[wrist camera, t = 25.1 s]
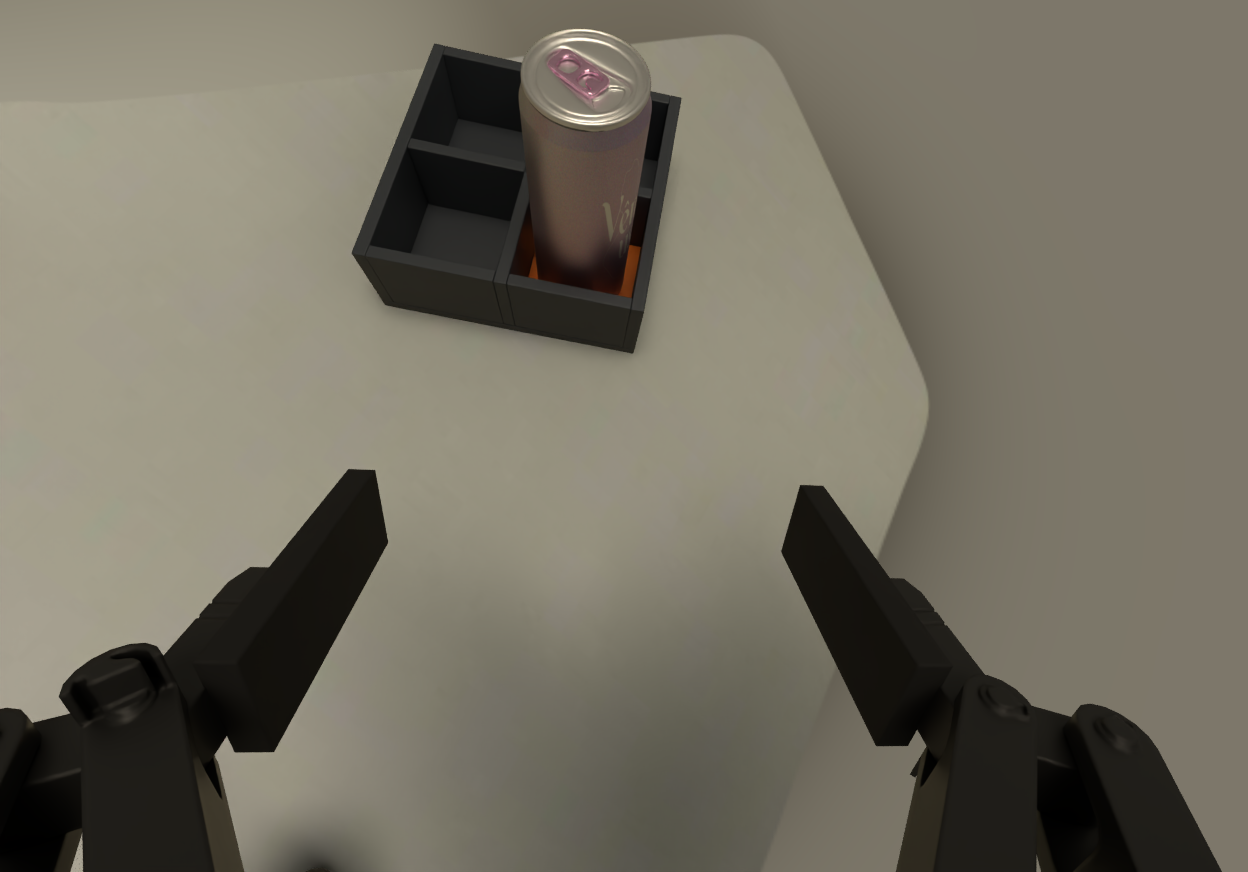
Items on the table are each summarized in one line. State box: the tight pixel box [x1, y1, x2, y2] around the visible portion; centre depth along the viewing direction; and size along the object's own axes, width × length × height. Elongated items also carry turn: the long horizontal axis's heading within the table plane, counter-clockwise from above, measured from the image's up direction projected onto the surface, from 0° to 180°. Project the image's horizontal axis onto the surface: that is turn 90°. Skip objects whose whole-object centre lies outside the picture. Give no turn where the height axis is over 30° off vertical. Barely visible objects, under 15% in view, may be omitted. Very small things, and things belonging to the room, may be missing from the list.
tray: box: [352, 44, 681, 353], centre depth 35 cm, size 17×17×6 cm
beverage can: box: [519, 28, 652, 295], centre depth 29 cm, size 6×6×15 cm
